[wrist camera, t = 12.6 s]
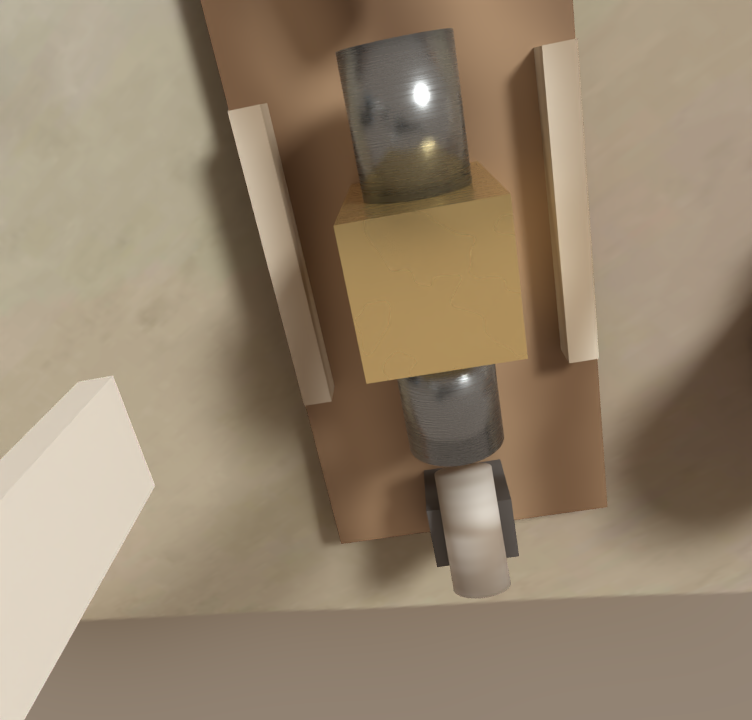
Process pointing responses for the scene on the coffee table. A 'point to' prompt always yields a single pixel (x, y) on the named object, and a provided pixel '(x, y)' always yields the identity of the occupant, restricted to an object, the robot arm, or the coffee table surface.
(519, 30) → the coupling cradle
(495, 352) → the universal joint
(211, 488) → the coffee table surface
